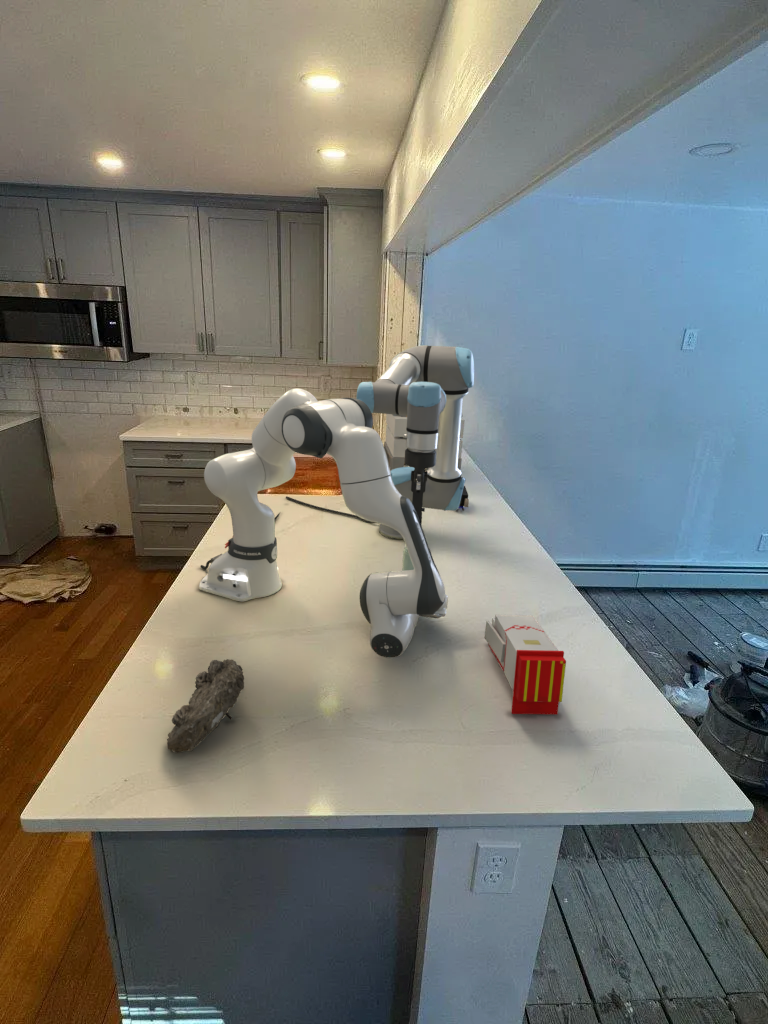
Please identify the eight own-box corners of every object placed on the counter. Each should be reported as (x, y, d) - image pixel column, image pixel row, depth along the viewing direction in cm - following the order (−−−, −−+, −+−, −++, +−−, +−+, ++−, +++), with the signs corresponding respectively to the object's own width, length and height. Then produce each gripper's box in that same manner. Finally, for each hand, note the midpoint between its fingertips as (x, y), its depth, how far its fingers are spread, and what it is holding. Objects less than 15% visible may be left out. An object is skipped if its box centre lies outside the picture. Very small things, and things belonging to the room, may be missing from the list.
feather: (287, 506, 225) (290, 502, 224) (270, 530, 198) (272, 526, 198) (283, 504, 225) (286, 500, 224) (265, 527, 198) (268, 523, 197)
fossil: (192, 660, 117) (244, 628, 112) (224, 691, 120) (276, 661, 115) (142, 746, 98) (202, 712, 93) (182, 779, 101) (242, 748, 96)
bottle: (397, 606, 151) (401, 531, 144) (416, 604, 153) (421, 529, 145) (403, 616, 146) (408, 539, 139) (423, 614, 148) (429, 537, 140)
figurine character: (468, 516, 224) (463, 500, 237) (471, 498, 221) (465, 483, 234) (452, 515, 224) (447, 499, 237) (453, 498, 220) (449, 482, 234)
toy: (530, 600, 137) (574, 657, 108) (525, 651, 140) (567, 720, 111) (480, 599, 137) (511, 656, 107) (477, 651, 139) (506, 719, 110)
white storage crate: (382, 463, 289) (386, 382, 275) (445, 464, 293) (451, 384, 279) (390, 482, 257) (394, 392, 243) (460, 483, 261) (468, 394, 247)
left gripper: (445, 606, 132) (452, 580, 145) (361, 593, 136) (375, 569, 149) (443, 629, 134) (450, 602, 147) (360, 616, 138) (374, 590, 151)
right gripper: (406, 440, 143) (401, 526, 151) (403, 456, 127) (398, 552, 135) (436, 442, 143) (429, 528, 150) (436, 458, 127) (429, 554, 134)
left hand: (412, 585), depth 148 cm, fingers closed on bottle, 5 cm apart
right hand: (414, 539), depth 143 cm, fingers closed on cap, 4 cm apart
